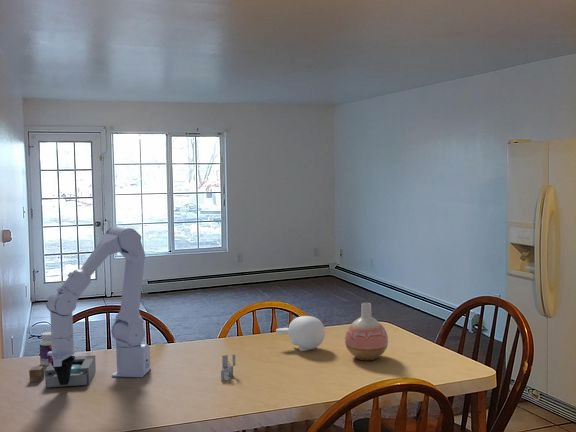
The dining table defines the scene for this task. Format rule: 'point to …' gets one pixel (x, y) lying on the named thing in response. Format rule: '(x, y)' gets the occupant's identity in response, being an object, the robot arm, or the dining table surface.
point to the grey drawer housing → (87, 366)
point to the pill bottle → (45, 348)
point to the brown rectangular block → (36, 374)
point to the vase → (366, 336)
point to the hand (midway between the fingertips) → (64, 384)
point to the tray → (73, 381)
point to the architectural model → (227, 367)
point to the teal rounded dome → (75, 369)
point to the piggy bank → (305, 332)
